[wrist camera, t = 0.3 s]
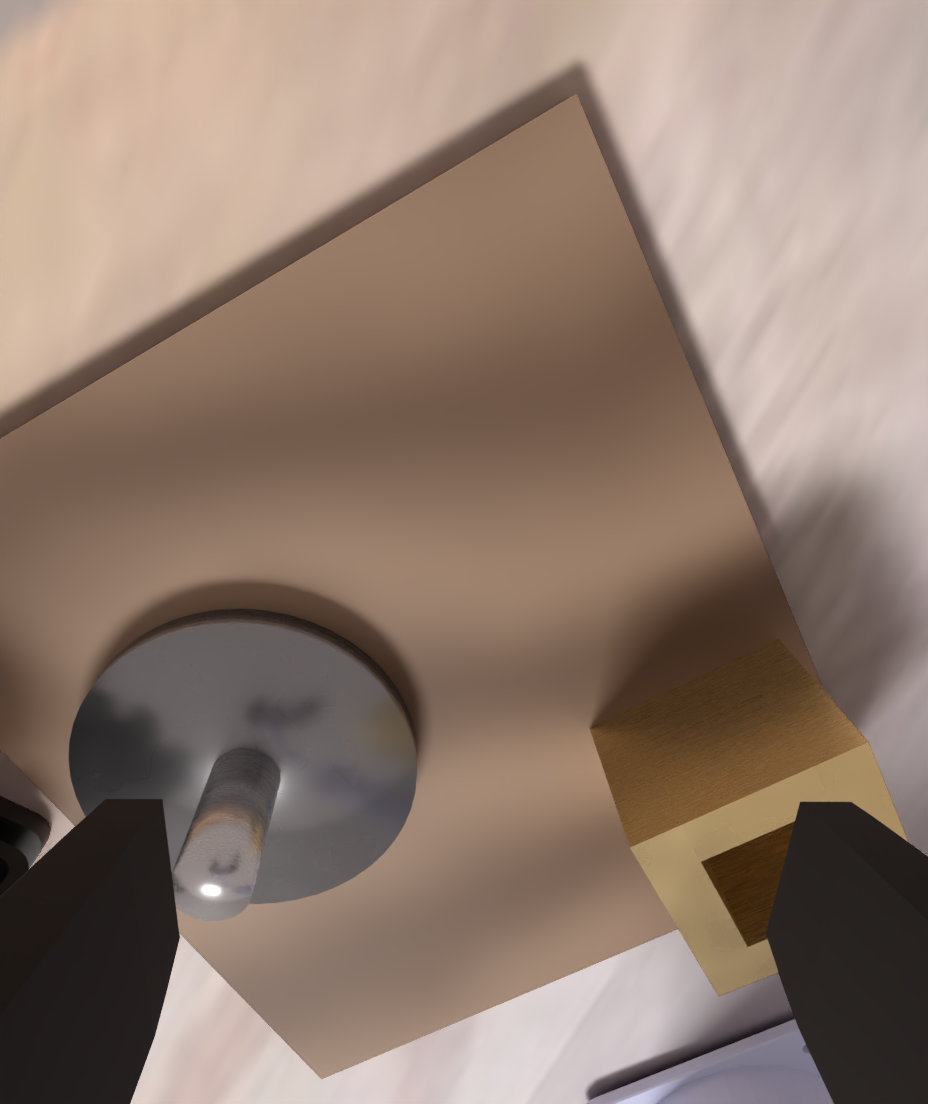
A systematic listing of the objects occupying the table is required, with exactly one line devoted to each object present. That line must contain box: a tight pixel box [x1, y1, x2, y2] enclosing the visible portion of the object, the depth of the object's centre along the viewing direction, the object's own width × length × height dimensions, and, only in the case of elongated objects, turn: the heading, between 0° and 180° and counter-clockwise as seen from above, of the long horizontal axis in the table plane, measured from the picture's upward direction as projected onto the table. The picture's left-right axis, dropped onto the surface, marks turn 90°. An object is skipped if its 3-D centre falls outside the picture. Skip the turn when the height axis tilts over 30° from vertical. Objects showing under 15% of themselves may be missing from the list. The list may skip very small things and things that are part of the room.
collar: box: [590, 640, 908, 996], centre depth 18 cm, size 5×5×4 cm
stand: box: [68, 609, 417, 921], centre depth 17 cm, size 8×8×4 cm
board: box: [0, 93, 824, 1079], centre depth 19 cm, size 20×18×1 cm
